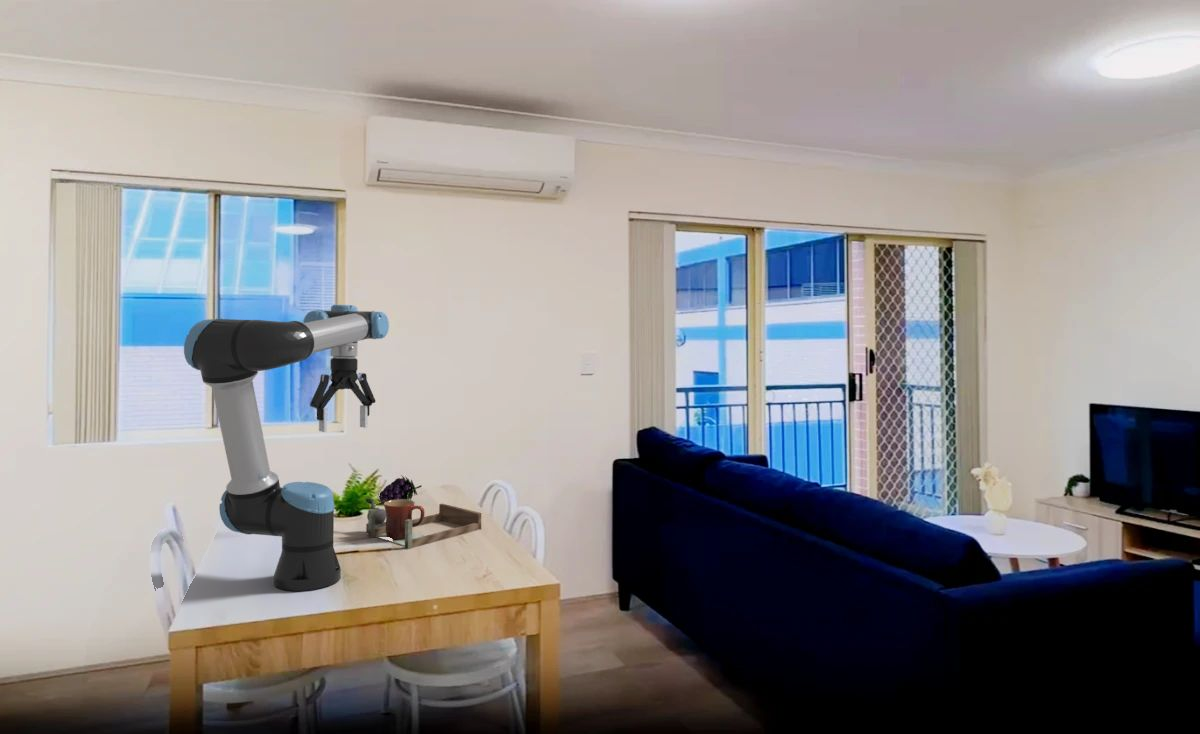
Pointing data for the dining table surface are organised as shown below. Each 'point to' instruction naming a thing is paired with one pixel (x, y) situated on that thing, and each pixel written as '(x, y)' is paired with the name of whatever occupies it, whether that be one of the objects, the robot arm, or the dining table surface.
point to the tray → (446, 513)
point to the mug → (400, 517)
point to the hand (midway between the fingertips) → (343, 429)
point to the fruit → (399, 490)
